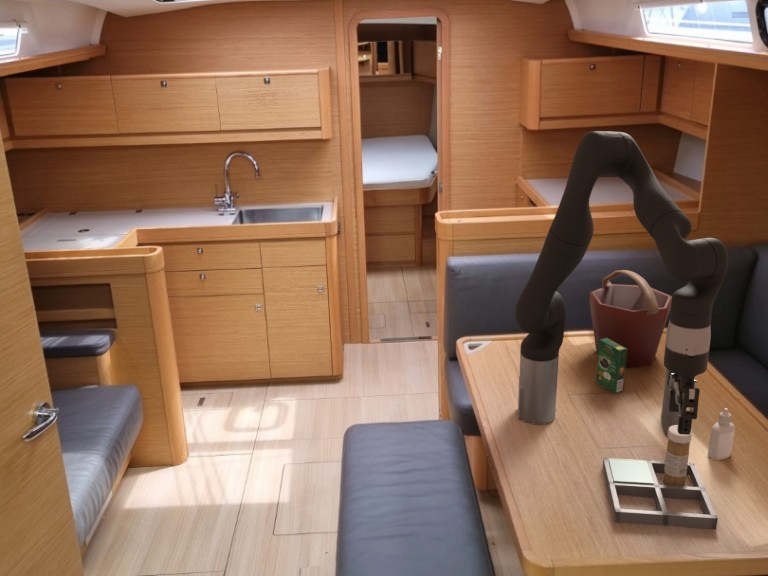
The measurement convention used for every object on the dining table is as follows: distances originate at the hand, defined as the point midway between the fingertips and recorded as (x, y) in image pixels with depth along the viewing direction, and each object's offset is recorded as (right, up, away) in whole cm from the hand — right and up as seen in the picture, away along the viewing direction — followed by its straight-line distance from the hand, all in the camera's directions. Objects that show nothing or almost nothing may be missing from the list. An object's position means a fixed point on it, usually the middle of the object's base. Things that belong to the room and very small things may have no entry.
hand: (679, 422), depth 139 cm
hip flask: (+14, -8, +39) cm, 42 cm away
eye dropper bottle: (+19, -12, +25) cm, 34 cm away
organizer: (0, -18, +12) cm, 21 cm away
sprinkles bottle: (+5, -16, +16) cm, 23 cm away
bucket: (+15, +6, +75) cm, 77 cm away
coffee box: (+4, -1, +57) cm, 57 cm away
